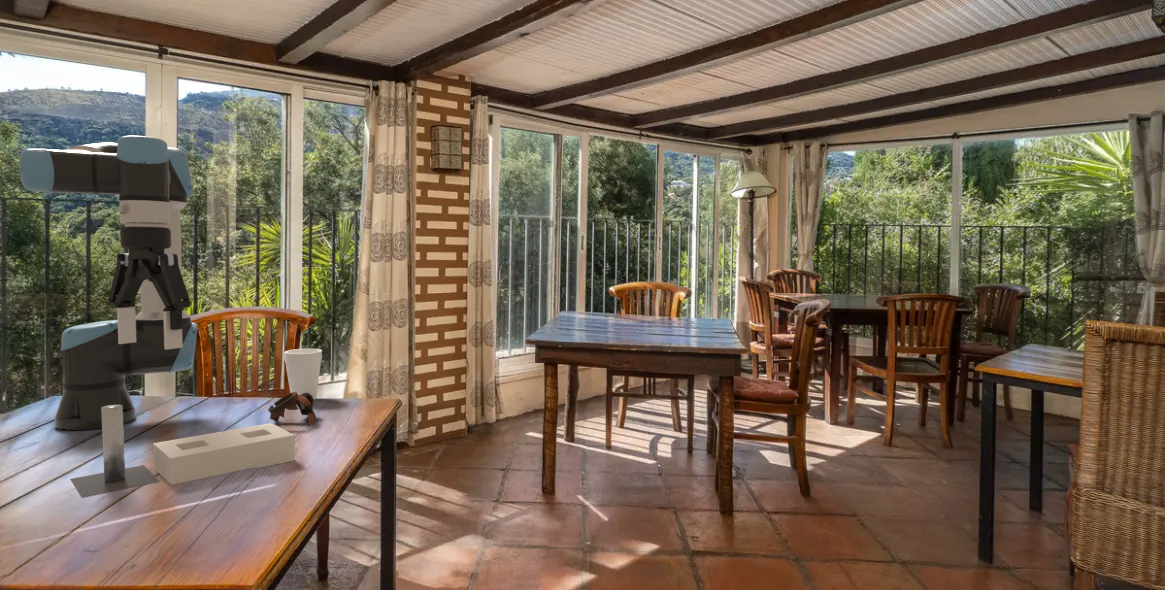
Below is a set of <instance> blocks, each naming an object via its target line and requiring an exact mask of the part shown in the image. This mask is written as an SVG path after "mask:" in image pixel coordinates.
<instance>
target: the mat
mask: <svg viewBox="0 0 1165 590" xmlns="http://www.w3.org/2000/svg"><path fill="white" fill-rule="evenodd" d="M69 480H70V481H71V483H72V484H73V486H74V487H75V489H76V491H77V492H78V494H79V496H80V497H81V499H85V498H89V497H92V496H98V495H103V494H107V493H113V492H117V491H122V490H127V489H131V488H136V487H142V486H145V485H151V484H155V483H156V484H157V483H160V482H161V481H160V480H159V479H158V478H157V477H156V476H155V474H153V473H152V471H150V470H149V468H148V467H147V466H146V465H145V464H142V465H137V466H131V467H125V480H123V481H120V482H116V483H105V482H104V472H100V473H95V474H89V475H83V476H78V477H74V478H70V479H69Z"/></svg>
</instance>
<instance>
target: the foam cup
mask: <svg viewBox="0 0 1165 590" xmlns="http://www.w3.org/2000/svg"><path fill="white" fill-rule="evenodd" d="M322 352H323V349H320V348H297V349H295V348H294V349H289V350H286V351H284V353H283V355H284V357H283V359H284V360H283V361H284V362H285V369H286V373H287V374H286V375H287V379H288V387H289V393H292V392H297V394H298V395H301V394H303V393H309V394H310V395H311V396H312V397H313V399H314V400H317V396H318V391H319V390H318V389H319V379H320V372H321V363H322V359H323V353H322Z"/></svg>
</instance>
